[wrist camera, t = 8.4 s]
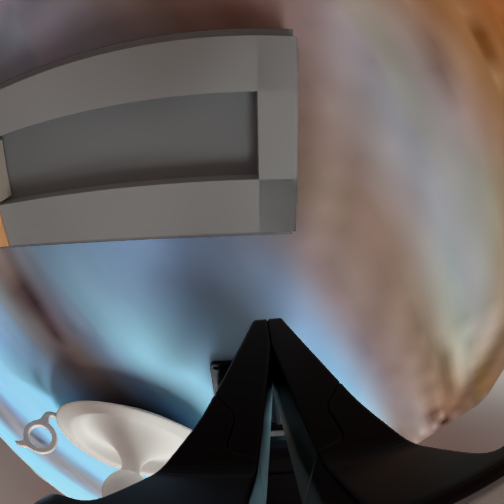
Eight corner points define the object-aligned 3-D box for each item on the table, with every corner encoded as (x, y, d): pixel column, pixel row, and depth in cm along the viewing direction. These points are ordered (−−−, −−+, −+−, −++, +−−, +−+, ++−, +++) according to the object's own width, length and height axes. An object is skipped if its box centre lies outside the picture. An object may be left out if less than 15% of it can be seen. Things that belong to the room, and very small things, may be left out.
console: (286, 221, 20) (295, 243, 18) (-15, 239, 20) (-36, 257, 17) (287, 36, 15) (297, 23, 12) (-39, 109, 14) (-65, 116, 11)
